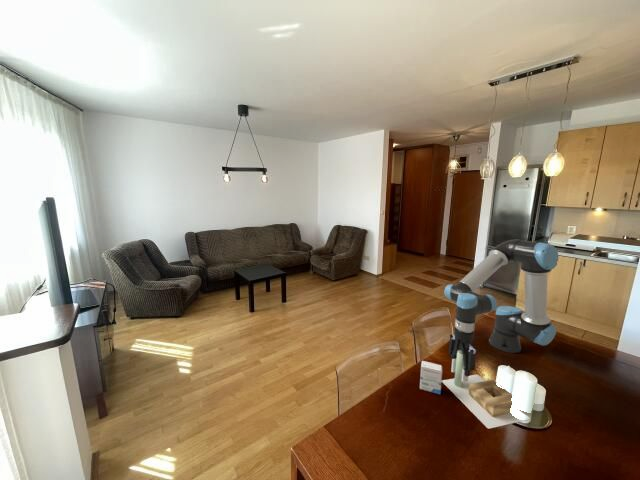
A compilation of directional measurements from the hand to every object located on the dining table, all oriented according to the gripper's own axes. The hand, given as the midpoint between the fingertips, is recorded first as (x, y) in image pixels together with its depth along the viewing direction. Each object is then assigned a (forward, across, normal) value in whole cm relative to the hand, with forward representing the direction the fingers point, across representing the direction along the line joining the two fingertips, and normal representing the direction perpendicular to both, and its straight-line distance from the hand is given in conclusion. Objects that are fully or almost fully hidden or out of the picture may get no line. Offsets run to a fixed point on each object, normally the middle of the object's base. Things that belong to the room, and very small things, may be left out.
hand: (459, 376), depth 118 cm
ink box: (+5, -1, -14) cm, 15 cm away
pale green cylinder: (+4, 0, 0) cm, 4 cm away
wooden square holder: (+4, +12, +6) cm, 14 cm away
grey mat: (+5, +9, +4) cm, 11 cm away
